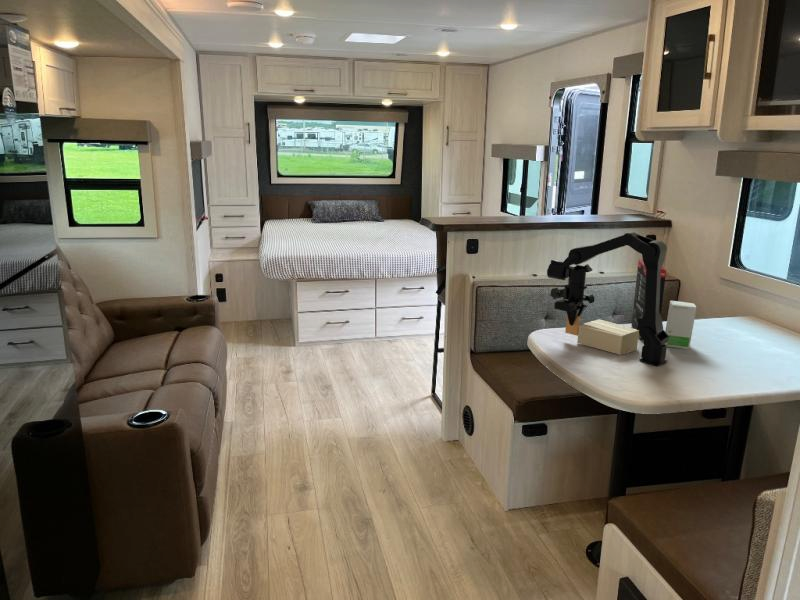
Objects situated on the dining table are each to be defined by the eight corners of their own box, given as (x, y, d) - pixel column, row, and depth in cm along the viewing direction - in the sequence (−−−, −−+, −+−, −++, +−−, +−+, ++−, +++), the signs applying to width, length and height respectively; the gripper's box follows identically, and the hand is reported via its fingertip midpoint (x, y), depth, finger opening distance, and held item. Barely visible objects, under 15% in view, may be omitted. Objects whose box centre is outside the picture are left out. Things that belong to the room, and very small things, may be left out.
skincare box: (664, 346, 211) (670, 304, 207) (663, 341, 217) (668, 300, 213) (690, 349, 208) (697, 307, 204) (688, 343, 214) (694, 302, 210)
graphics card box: (658, 342, 215) (668, 268, 208) (639, 340, 217) (648, 267, 209) (647, 328, 232) (656, 259, 225) (629, 326, 233) (637, 258, 226)
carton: (636, 349, 207) (639, 329, 205) (620, 354, 201) (623, 335, 199) (597, 337, 219) (599, 318, 218) (581, 342, 213) (582, 323, 212)
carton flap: (620, 354, 201) (624, 326, 199) (619, 354, 201) (622, 327, 198) (565, 339, 216) (568, 313, 213) (564, 339, 215) (566, 314, 213)
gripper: (568, 274, 220) (565, 314, 224) (542, 282, 207) (538, 325, 211) (597, 279, 212) (592, 321, 216) (571, 288, 199) (567, 332, 204)
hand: (572, 324), depth 212 cm, fingers closed
